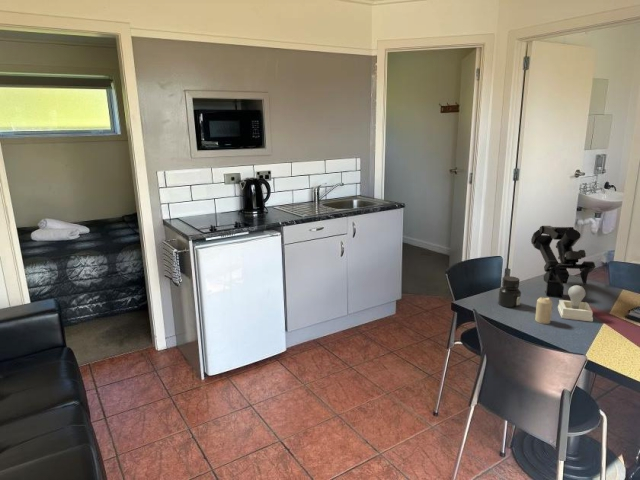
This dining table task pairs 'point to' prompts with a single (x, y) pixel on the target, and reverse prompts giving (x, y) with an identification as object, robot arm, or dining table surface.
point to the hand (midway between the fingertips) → (573, 284)
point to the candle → (543, 310)
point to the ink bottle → (509, 292)
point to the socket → (575, 311)
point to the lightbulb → (576, 296)
